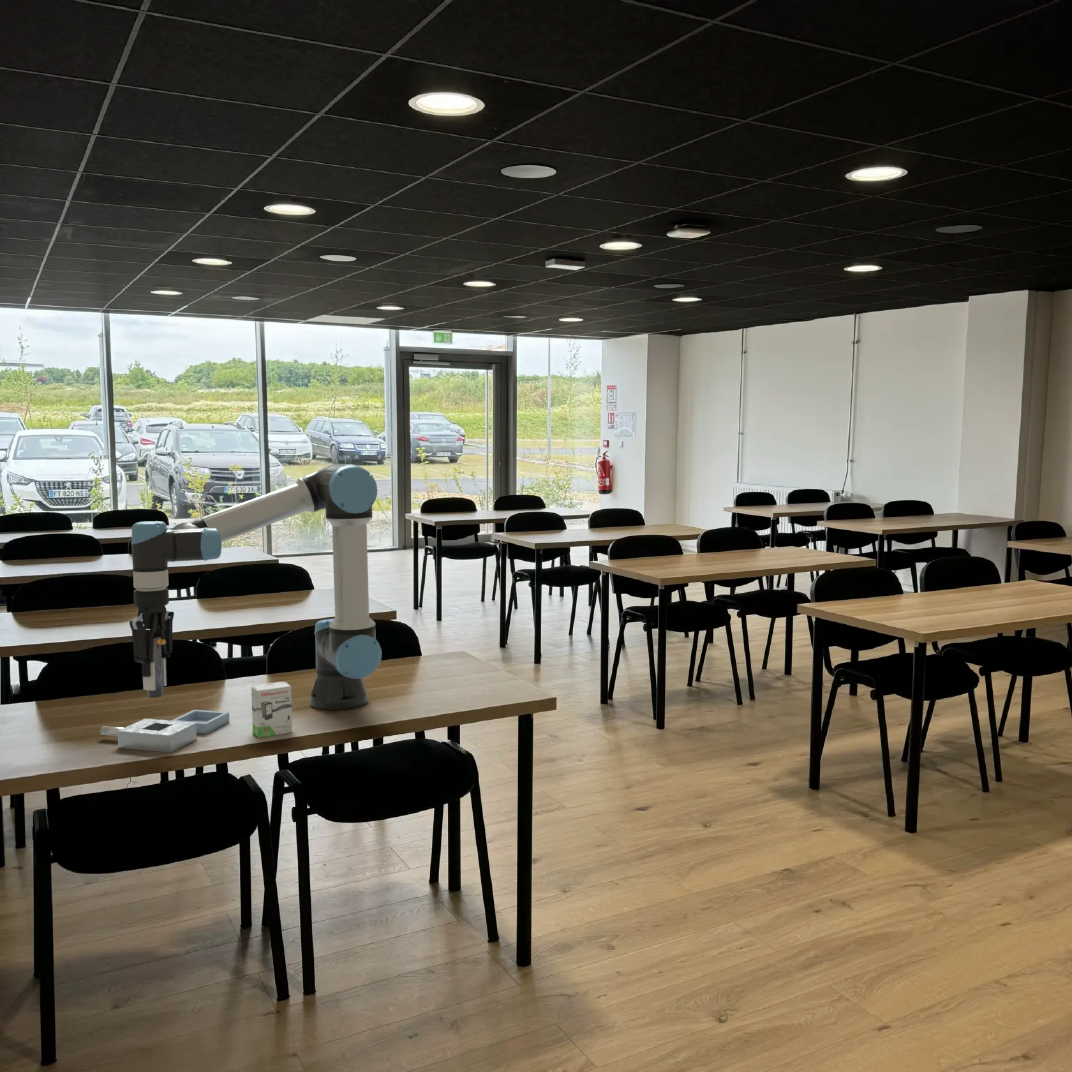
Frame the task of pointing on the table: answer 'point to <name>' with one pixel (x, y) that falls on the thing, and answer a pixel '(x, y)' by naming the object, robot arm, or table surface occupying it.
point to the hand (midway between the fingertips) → (155, 687)
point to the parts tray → (205, 720)
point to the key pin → (157, 667)
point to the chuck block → (153, 735)
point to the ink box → (271, 709)
